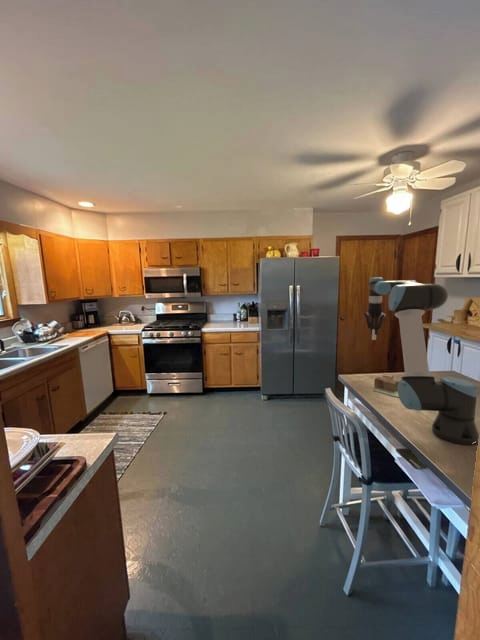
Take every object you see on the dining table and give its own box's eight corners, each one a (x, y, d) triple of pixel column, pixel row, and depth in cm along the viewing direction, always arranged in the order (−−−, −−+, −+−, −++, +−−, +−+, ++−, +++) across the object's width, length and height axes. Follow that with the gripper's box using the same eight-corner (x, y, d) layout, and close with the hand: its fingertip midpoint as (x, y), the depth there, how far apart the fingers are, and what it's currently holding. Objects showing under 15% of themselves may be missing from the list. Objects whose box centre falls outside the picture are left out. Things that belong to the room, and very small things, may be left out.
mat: (398, 397, 151) (398, 396, 151) (372, 390, 162) (372, 389, 162) (409, 390, 160) (409, 389, 160) (384, 384, 171) (384, 383, 171)
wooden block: (374, 386, 166) (393, 392, 157) (374, 378, 165) (394, 383, 157) (378, 384, 169) (397, 389, 160) (378, 376, 168) (398, 381, 160)
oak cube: (391, 384, 170) (392, 376, 170) (382, 382, 173) (382, 375, 173) (393, 382, 174) (393, 374, 174) (384, 380, 177) (384, 372, 177)
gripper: (388, 302, 172) (387, 340, 176) (368, 301, 182) (366, 337, 186) (383, 303, 168) (381, 342, 171) (362, 302, 178) (361, 339, 181)
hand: (374, 339), depth 179 cm, fingers closed
